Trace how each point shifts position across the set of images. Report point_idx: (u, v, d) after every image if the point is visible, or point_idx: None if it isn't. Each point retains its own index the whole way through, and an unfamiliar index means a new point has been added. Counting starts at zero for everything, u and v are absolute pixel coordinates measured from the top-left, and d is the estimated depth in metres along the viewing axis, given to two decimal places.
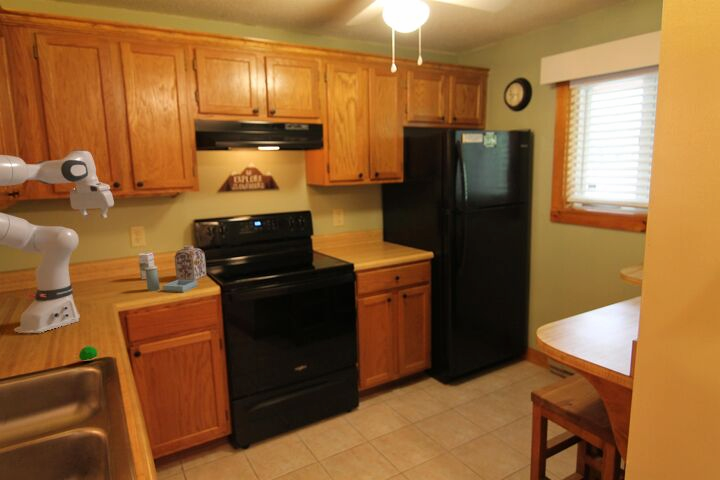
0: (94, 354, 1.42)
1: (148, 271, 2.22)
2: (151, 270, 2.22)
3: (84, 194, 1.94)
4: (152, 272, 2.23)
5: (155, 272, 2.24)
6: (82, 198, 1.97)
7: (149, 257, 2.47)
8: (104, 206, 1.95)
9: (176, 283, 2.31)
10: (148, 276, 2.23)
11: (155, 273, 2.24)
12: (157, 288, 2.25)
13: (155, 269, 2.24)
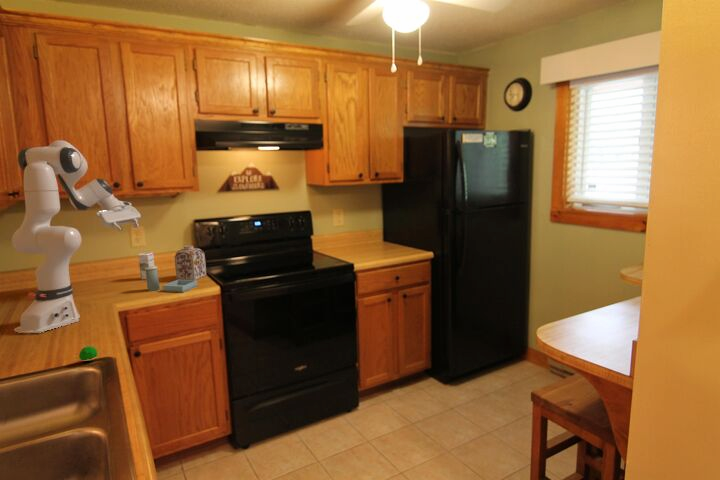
0: (94, 354, 1.42)
1: (148, 271, 2.22)
2: (151, 270, 2.22)
3: (119, 208, 2.27)
4: (152, 272, 2.23)
5: (155, 272, 2.24)
6: (114, 214, 2.24)
7: (149, 257, 2.47)
8: (137, 216, 2.33)
9: (176, 283, 2.31)
10: (148, 276, 2.23)
11: (155, 273, 2.24)
12: (157, 288, 2.25)
13: (155, 269, 2.24)
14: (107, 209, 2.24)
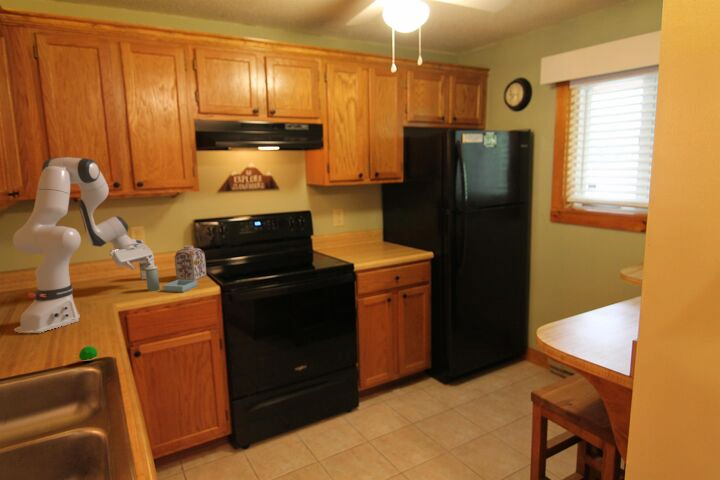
0: (94, 354, 1.42)
1: (148, 271, 2.22)
2: (151, 270, 2.22)
3: (131, 246, 2.28)
4: (152, 272, 2.23)
5: (155, 272, 2.24)
6: (127, 252, 2.25)
7: None
8: (150, 253, 2.35)
9: (176, 283, 2.31)
10: (148, 276, 2.23)
11: (155, 273, 2.24)
12: (157, 288, 2.25)
13: (155, 269, 2.24)
14: (120, 248, 2.25)
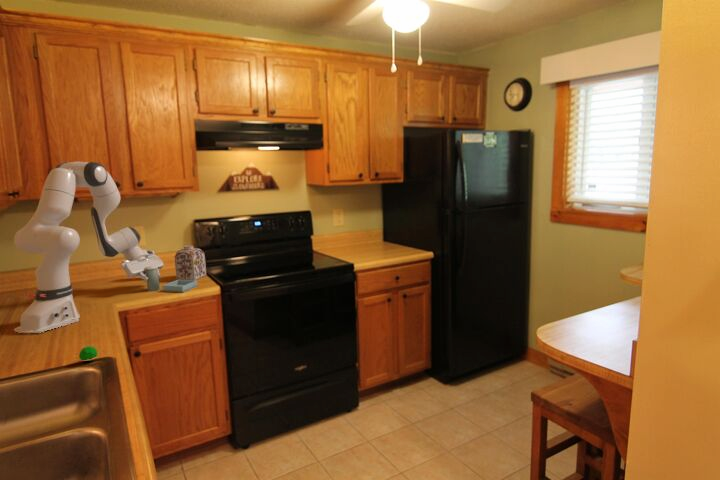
0: (94, 354, 1.42)
1: (148, 271, 2.22)
2: (151, 270, 2.22)
3: (143, 257, 2.26)
4: (152, 272, 2.23)
5: (155, 272, 2.24)
6: (138, 264, 2.24)
7: None
8: (161, 264, 2.33)
9: (176, 283, 2.31)
10: (148, 276, 2.23)
11: (155, 273, 2.24)
12: (157, 288, 2.25)
13: (155, 269, 2.24)
14: (131, 259, 2.23)
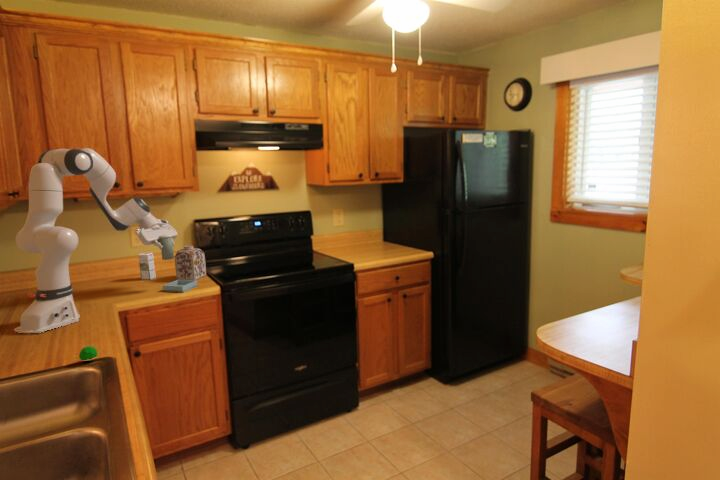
0: (94, 354, 1.42)
1: (163, 239, 2.20)
2: (166, 238, 2.20)
3: (157, 226, 2.24)
4: (166, 240, 2.20)
5: (170, 240, 2.22)
6: (153, 232, 2.21)
7: (149, 257, 2.46)
8: (175, 234, 2.30)
9: (176, 283, 2.31)
10: (163, 244, 2.21)
11: (170, 241, 2.22)
12: (172, 257, 2.23)
13: (170, 237, 2.22)
14: (146, 227, 2.21)
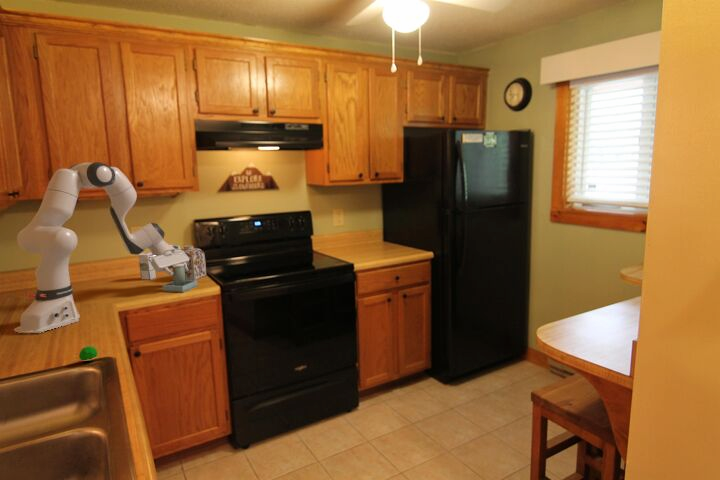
0: (94, 354, 1.42)
1: (175, 268, 2.22)
2: (178, 267, 2.22)
3: (169, 252, 2.26)
4: (179, 269, 2.22)
5: (182, 269, 2.24)
6: (165, 258, 2.23)
7: None
8: (186, 259, 2.32)
9: None
10: (175, 273, 2.23)
11: (182, 270, 2.24)
12: None
13: (182, 266, 2.24)
14: (158, 254, 2.23)
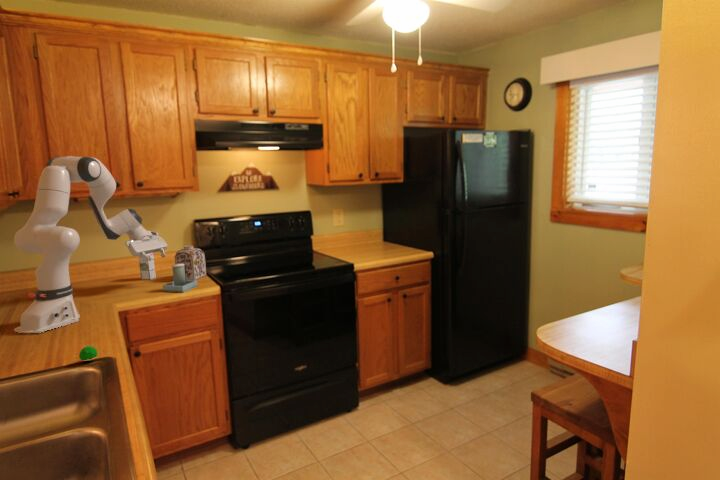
0: (94, 354, 1.42)
1: (175, 268, 2.22)
2: (178, 267, 2.22)
3: (147, 238, 2.29)
4: (179, 269, 2.23)
5: (182, 269, 2.24)
6: (142, 243, 2.27)
7: None
8: (164, 245, 2.36)
9: None
10: (175, 273, 2.23)
11: (182, 270, 2.24)
12: None
13: (182, 266, 2.24)
14: (136, 239, 2.26)
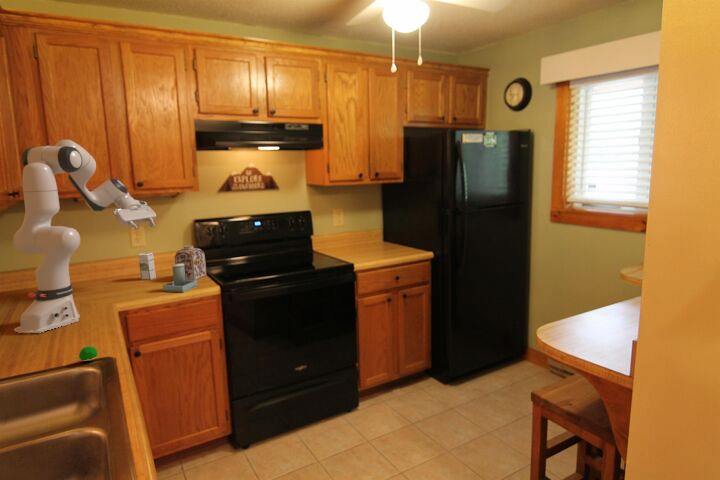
0: (94, 354, 1.42)
1: (175, 268, 2.22)
2: (178, 267, 2.22)
3: (135, 207, 2.26)
4: (179, 269, 2.23)
5: (182, 269, 2.24)
6: (130, 212, 2.23)
7: (149, 257, 2.46)
8: (153, 215, 2.32)
9: None
10: (175, 273, 2.23)
11: (182, 270, 2.24)
12: None
13: (182, 266, 2.24)
14: (123, 208, 2.23)
